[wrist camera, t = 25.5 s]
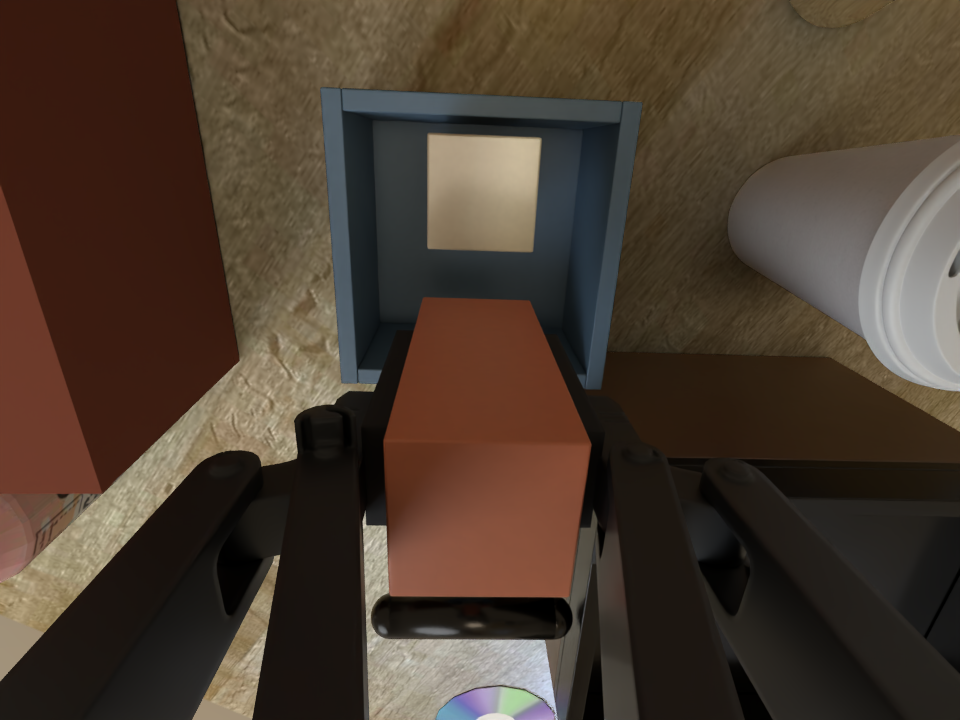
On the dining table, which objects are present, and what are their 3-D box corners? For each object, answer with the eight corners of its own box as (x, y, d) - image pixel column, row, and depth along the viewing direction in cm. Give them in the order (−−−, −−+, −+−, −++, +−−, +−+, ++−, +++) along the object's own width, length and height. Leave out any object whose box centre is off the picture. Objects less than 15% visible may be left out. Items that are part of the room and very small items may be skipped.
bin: (597, 114, 27) (643, 101, 20) (571, 336, 32) (601, 389, 25) (358, 103, 26) (319, 86, 19) (369, 331, 31) (341, 383, 24)
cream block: (516, 141, 27) (542, 137, 18) (511, 219, 28) (533, 253, 19) (440, 138, 27) (426, 132, 17) (439, 216, 28) (426, 249, 19)
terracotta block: (530, 299, 19) (592, 444, 10) (522, 395, 20) (570, 599, 11) (422, 296, 19) (382, 439, 10) (423, 393, 20) (388, 597, 11)
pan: (830, 357, 33) (1084, 502, 19) (771, 535, 38) (937, 744, 25) (403, 345, 32) (357, 490, 18) (407, 530, 37) (374, 746, 24)
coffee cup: (785, 86, 27) (1129, 19, 13) (903, 189, 29) (1306, 227, 15) (666, 241, 30) (841, 323, 16) (781, 324, 32) (1024, 460, 18)
